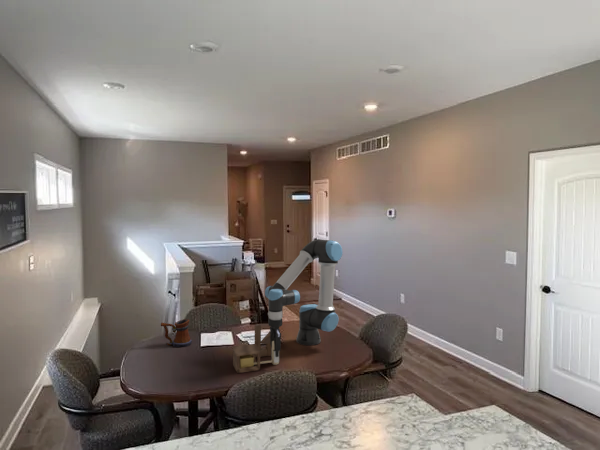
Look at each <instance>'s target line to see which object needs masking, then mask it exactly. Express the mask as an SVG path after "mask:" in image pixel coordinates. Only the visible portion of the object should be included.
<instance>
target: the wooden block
mask: <svg viewBox="0 0 600 450" xmlns="http://www.w3.org/2000/svg"><path fill="white" fill-rule="evenodd" d="M254 344H256V345H257V346H258V348H259V349H260V350H261V353H260V358H261V357H269V356H272V347H271V345H270V330H269V331H268V332H267V333H266V334H265V336H264V337H263V338H262V325H261V324H260V323H259V324H258V323H257V324H254ZM262 345H265V348H263V347H262ZM255 358H257V354H255Z"/></svg>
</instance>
